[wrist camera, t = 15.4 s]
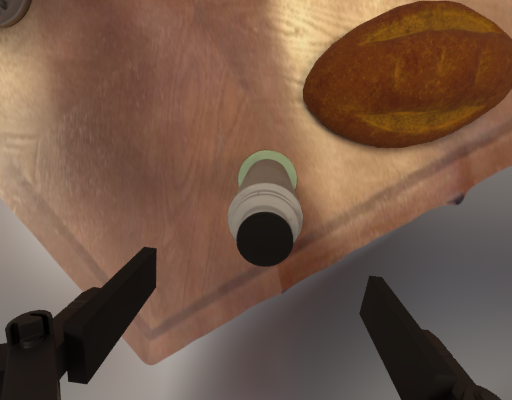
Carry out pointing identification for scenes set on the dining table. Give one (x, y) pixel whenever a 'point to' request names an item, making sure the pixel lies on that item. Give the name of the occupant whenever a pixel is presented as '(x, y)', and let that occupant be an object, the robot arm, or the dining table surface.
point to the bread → (411, 75)
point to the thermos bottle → (265, 214)
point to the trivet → (268, 155)
